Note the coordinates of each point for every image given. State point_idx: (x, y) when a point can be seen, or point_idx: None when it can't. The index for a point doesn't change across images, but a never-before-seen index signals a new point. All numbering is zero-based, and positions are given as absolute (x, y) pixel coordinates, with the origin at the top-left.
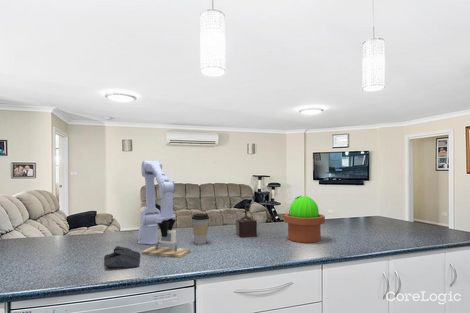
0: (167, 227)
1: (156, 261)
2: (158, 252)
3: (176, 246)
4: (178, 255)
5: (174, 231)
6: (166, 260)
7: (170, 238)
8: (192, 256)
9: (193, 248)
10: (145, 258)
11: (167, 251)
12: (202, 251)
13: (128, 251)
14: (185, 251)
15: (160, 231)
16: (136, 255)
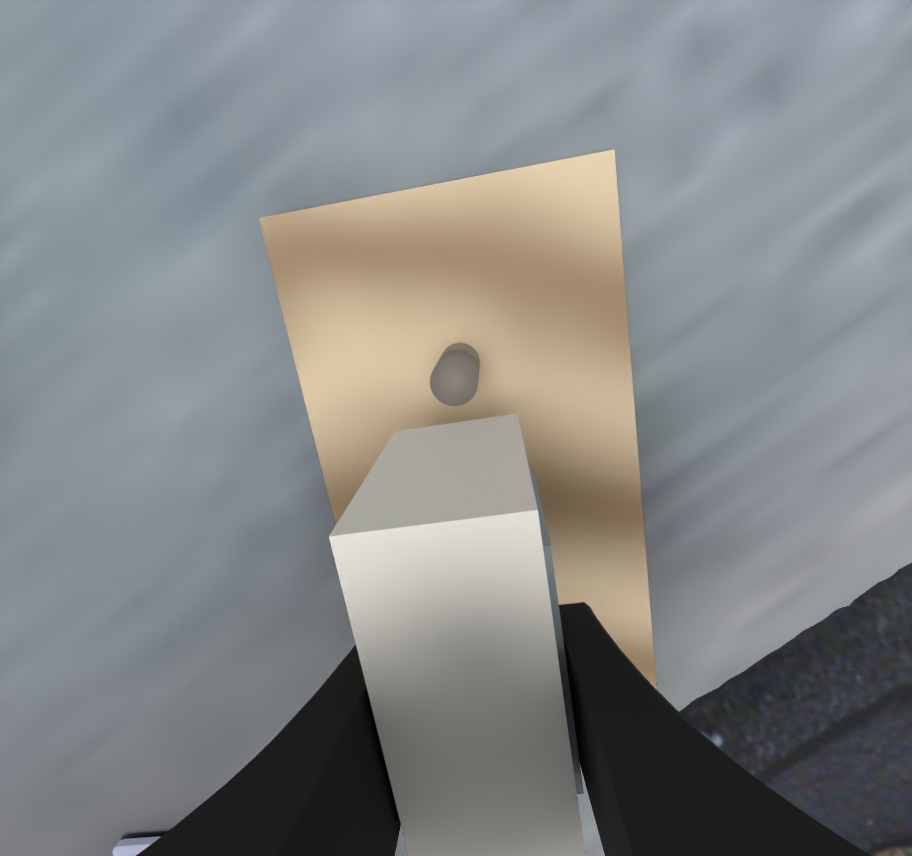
0: (677, 769)
1: (873, 371)
2: (622, 539)
3: (465, 355)
4: (613, 193)
5: (439, 519)
6: (791, 273)
7: (539, 497)
8: (466, 15)
9: (110, 286)
10: (793, 574)
11: (530, 460)
12: (154, 35)
13: (860, 821)
14: (407, 205)
15: (583, 845)
16: (866, 682)
